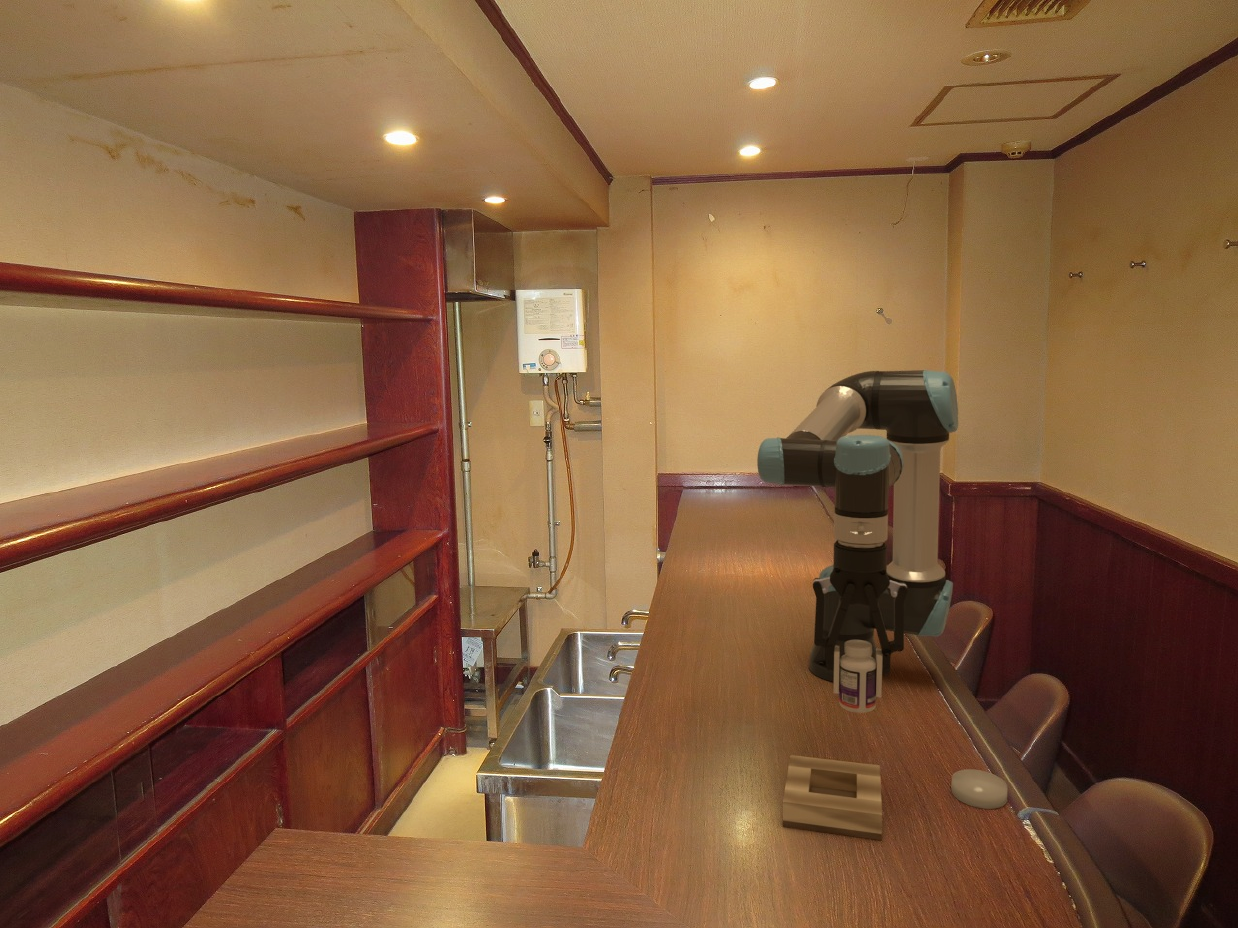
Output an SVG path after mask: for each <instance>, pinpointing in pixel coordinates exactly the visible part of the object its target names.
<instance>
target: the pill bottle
mask: <svg viewBox="0 0 1238 928" xmlns="http://www.w3.org/2000/svg"><path fill="white" fill-rule="evenodd" d="M844 653H845V655H843V656H842V657H841V658H840V661H839V694H838V704H839V705H840V707H841V708H843V709H844V710H846V711H848V712H852V713H859V714H860V713H862V714H863V713H869V712H872V711H873V710H875V709H876V707H877V697H876V669H877V664H876V661H875V659H874V658H873V657H871V655H872V644H871V643H869V642H867V641H863V640H849V641H846V642H845V645H844Z"/></svg>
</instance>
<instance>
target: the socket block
mask: <svg viewBox="0 0 1238 928" xmlns="http://www.w3.org/2000/svg"><path fill="white" fill-rule="evenodd" d="M788 761H789V762H788V768H787V773H786V779H785V787H784V793H783V798H782V827H783V828H791V829H798V830H803V831H804V830H806V831H812V832H820V833H825V834H826V833H827V834H833V835H841V836H848V837H855V838H861V839H870V840H877V841H882V839H883V838H882V837H883V836H882V834H883V829H882V828H883V803H882V802H883V801H882V783H881V782H882V781H881V780H882V779H881V765H880V764H879V765H878V764H871V763H860V762H854V761H853V762H852V761H845V760H844V761H843V760H837V759H836V760H835V759H829V758H827V759H826V758H818V757H810V756H801V755H792V754H790V755H789V760H788Z"/></svg>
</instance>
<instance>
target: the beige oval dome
mask: <svg viewBox="0 0 1238 928" xmlns="http://www.w3.org/2000/svg"><path fill="white" fill-rule="evenodd" d="M950 788H951V793H952V795H953V796H954V798H956V799H957V800H958V801H959V802H961V803H963V804H965V805H968V806H969V807H970V806H971V807H973V808H978V809H985V810H991V809H992V810H994V809H999V808H1002V807H1003V806H1005V804H1007V802H1008V785H1007V783H1006V781H1005V780H1003V779H1002V778H1001V777H1000V776H998V775H996V774H993V773H991V772H988V771H984V770H982V769H981V770H980V769H973V768H972V769H971V768H970V769H969V768H967V769H966V768H965V769H961V770H958V771H955V772H954V773H953V774H952V775H951V787H950Z"/></svg>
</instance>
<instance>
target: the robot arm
mask: <svg viewBox="0 0 1238 928" xmlns="http://www.w3.org/2000/svg"><path fill="white" fill-rule="evenodd" d="M815 406H816V407H815V408H814V409H813V410H812V411H811V412H810V413H809V414H808V415H807V417H805V418H804V419H803V420H802V421H801V422H800V423H799V425H797V427H796V428H795V429H793V431H792V432H791V433H789V435H788V436H787V437H786V438H785V437H779V436H778V437H774V438H773V437H771V438H765V439H764V440H763V441H762V442H761V443H760V446H759V449H758V451H757V457H756V458H757V459H756V460H757V464H756V465H757V473H758V476H759V478H760V479H761V480H762V481H763V482H764V483H768V484H776V485H777V484H778V485H781V486H801V487H803V486H804V487H817V488H818V487H821V488H822V487H823V488H832V489H833V488H834V511H833V512H834V513H833V514H834V515H833V519H834V520H833V521H834V522H833V538H834V539H835V540H836V541H835V542H834V543H833V564H831V565H828V566H826V567H824V568H823V569H822V570H821V572H820V573H819V576H818V577H816V578H814V579H813V581H812V589H813V593H814V594H815V615H814V617H815V620H814V635H813V637H814V639H813V646H812V648H811V651H810V653H809V659H808V663H809V664H808V666H809V667H808V669H809V670H810V672H811V673H812V674H813V675H815V676H817V677H819V678H820V679H823V680H826V681H828V682H829V681H830V682H833V694H838V695H839V661H840V658H841V657H842V656H843V655H845V653H844V645H845V642H846V641H849V640H863V641H867V642H869V643H871V644H872V655H871V657H873V658H874V659H875V661H876V664H877V669H876V698H882V688H883V687H882V684H883V675H889V674H890V672H891V657H892V654H893V653H896V652H899V653H901V652H903V651H904V648H905V637H904V635H905V634H906V635H913V636H917V637H922V636H923V637H924V636H925V637H935V638H936V637H939V636H941V635H942V634H943V632H944V631H945V628H946V624H947V619H948V615H949V611H950V606H951V603H952V602H951V601H952V595H953V589H954V583H953V582H952V581H951V580H949V579H946V571H945V569H944V568H943V567H942V566H941V565H940V564H939V563H938V561H939V559H938V558H939V557H938V554H939V522H940V521H939V519H940V517H939V514H940V480H941V449H942V447H944V445H946V444H947V443H948V442H950V434H952V433H954V432H956V431H958V428H959V404H958V396H957V390H956V385H955V382H954V379H953V377H952V376H951V375H950V374H949V373H948V372H946V371H938V370H928V369H926V370H924V369H922V370H919V369H918V370H917V369H915V370H869V371H862V372H859V373H856V374H852V375H850V376H847V377H846V378H843V379H841V380H839V381H836V383H833V384H832V385H831V386H829V387H828V388H826V389H825V390H824V392H822V394H821V395H820V396H819V397H818V400H817V402H816V405H815ZM859 429H860V430H861V429H863V430H864V429H865V430H881V431H883V430H885V431H886V437H883V436H880V435H875V434H874V435H871V434H853V435H852V434H851V435H848V434H850V433H852V432H854V431H856V430H859ZM892 486H893V514H892V515H893V520H892V522H893V523H892V524H893V526H892V561H890V562H889V564H888V545H887V544H886V543H885V542H886V541H888V535H889V534H888V532H889V531H888V530H889V529H888V526H889V523H888V522H889V492H890V491H889V490H890V487H892ZM874 629H875V630H876V634H877V636H878V637H877V638H878V641H879V645H880V648H878V647H877V644H876V641H875V636H874V635H875V634H874V633H875V630H874ZM887 631H888V632H893V640H889V637H888V634H887Z"/></svg>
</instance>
